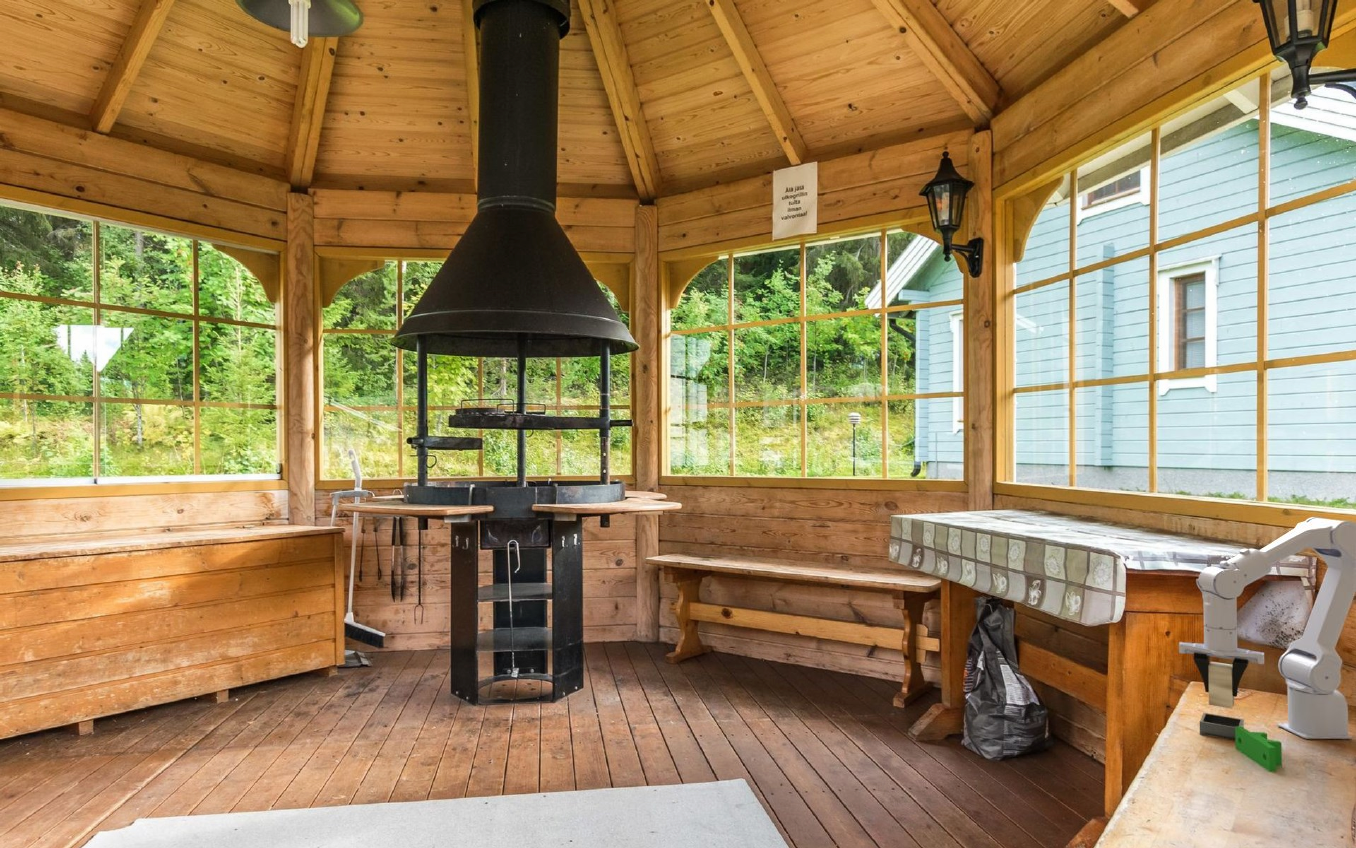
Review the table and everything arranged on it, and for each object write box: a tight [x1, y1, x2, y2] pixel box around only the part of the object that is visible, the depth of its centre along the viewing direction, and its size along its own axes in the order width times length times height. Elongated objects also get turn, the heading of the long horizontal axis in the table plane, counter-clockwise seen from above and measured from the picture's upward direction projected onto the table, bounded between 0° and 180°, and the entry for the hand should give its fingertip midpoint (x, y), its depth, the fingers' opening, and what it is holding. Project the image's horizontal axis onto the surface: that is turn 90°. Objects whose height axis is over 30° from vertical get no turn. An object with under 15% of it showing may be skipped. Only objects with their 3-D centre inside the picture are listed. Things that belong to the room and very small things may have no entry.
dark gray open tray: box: [1199, 712, 1245, 741], centre depth 169 cm, size 7×7×2 cm
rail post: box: [1208, 661, 1235, 709], centre depth 170 cm, size 4×4×8 cm
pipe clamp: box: [1234, 726, 1283, 773], centre depth 155 cm, size 11×4×5 cm, turn 173°
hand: (1221, 693), depth 169 cm, fingers closed on rail post, 4 cm apart
